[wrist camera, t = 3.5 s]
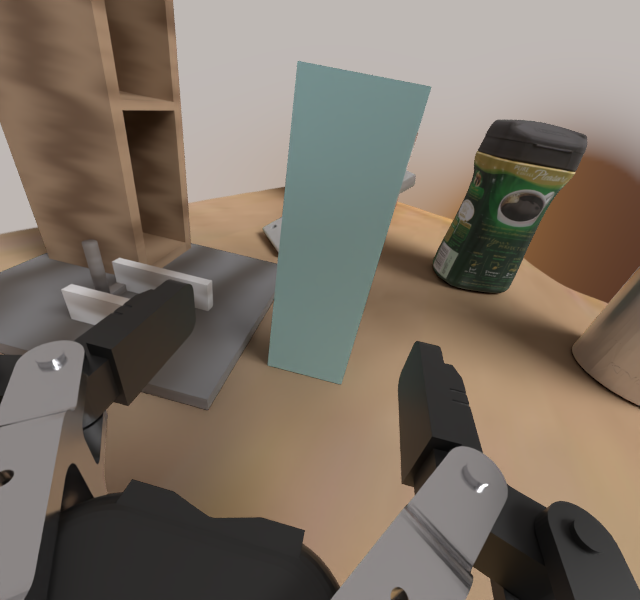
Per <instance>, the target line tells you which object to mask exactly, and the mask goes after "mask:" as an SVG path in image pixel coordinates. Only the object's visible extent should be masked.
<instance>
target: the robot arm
mask: <svg viewBox="0 0 640 600" xmlns="http://www.w3.org/2000/svg"><path fill="white" fill-rule="evenodd" d="M195 322H196V315H195V302H194V290H193V287H192V285H191V284H188V283H184V282H180V281H176V280H172V279H168V280H166V281H165V282H163V283H162V284H161V285H159V286H158V287H157V288H156V289H154V290H153V289H150V290H147V291H145V292H142V293H140V294H137V295H135V296H134V297H132V298H131V299H130V300H128V301H127V302H125V303H124V305H123V306H120V307H119V308H117V309H116V310H115V311H114V313H111V314H109V315H108V316H107V317H105V318H104V319H102V320H101V321H100V322H98V323H97V324H96V325H94V326H93V327H92V328H90V329H89V330H88V331H86V332H85V333H84V334H82V335H81V336H79V337H78V338H77V339H75V340H74V341H67V340H63V341H54V342H49V343H45V344H42V345H40V346H37V347H35V348H33V349H31V350H29V351H28V352H26V353H25V354H24V355H0V600H465V599H466V597H467V595H468V593H469V591H470V588H471V586H472V583H473V575H472V574H471V569H472V567H474V568H476V569H477V570H479V571H480V572H482V573H483V574H484V575H486V576H487V577H489V578H490V580H491V586H492V592H493V597H494V600H640V590H639V588H638V586H637V584H636V582H635V580H634V578H633V576H632V574H631V571H630V569H629V567H628V565H627V563H626V561H625V559H624V557H623V555H622V553H621V551H620V549H619V547H618V545H617V543H616V542H615V540H614V539H613V537H612V536H611V535H610V533H609V532H608V531H607V530H606V529H605V527H604V526H603V525H602V524H601V523H600V522H599V521H598V520H597V519H595V518H594V517H593V516H592V515H591V514H589V513H588V512H587V511H585V510H584V509H582V508H580V507H578V506H576V505H574V504H572V503H569V502H565V501H558V502H555V503H553V504H551V505H550V506H549V507H547V508H546V507H544V506H543V505H541V504H539V503H537V502H536V501H534V500H532V499H531V498H529V497H527V496H525V495H524V494H522V493H520V492H518V491H517V490H515V489H513V488H512V487H510V486H509V485H508V484H506V481H505V478H504V476H503V474H502V473H501V471H500V470H499V468H498V467H497V466H496V465H495V463H494V462H493V461H492V460H491V459H489V458H488V457H487V456H486V455H484V454H483V451H482V448H481V444H480V441H479V437H478V434H477V430H476V427H475V423H474V419H473V416H472V412H471V409H470V407H469V401H468V398H467V395H466V391H465V387H464V384H463V380H462V378H461V376H460V375H459V374H458V372H457V371H456V369H455V368H454V367H453V365H449V364H445V363H444V361H443V356H442V352H441V348H440V347H439V346H436V345H432V344H428V343H424V342H420V341H416V342H415V343H414V345H413V347H412V349H411V352H410V354H409V356H408V358H407V361H406V363H405V365H404V367H403V369H402V372H401V375H400V378H399V384H398V401H399V426H400V451H401V476H402V484H405V485H408V486H412V487H414V492H415V496H414V497H413V499H412V500H411V501H410V502H409V503H408V505H406V506H405V507H404V509H403V510H402V511H401V512H400V514H399V515H398V516H397V517H396V519H395V520H394V521H393V522H392V524H391V525H390V526H389V527H388V529H387V530H386V531H385V532H384V534H383V535H382V536H381V537H380V539H379V540H378V541H377V542H376V544H375V545H374V546H373V547H372V549H371V550H370V551H369V552H368V554H367V555H366V556H365V557H364V559H363V560H362V561H361V562H360V564H359V565H358V566H357V567H356V569H355V570H354V571H353V572H352V574H351V575H350V576H349V577H348V579H347V580H346V581H345V582H344V584H343V585H342V586H341V587H340V586H339V584H338V582H337V580H336V579H335V577H334V576H333V574H332V573H331V571H330V570H329V568H328V567H327V566H326V565H325V563H324V562H323V561H322V560H321V559H320V557H318V556H317V555H316V554H315V553H314V552H313V551H312V550H311V549H309V548H308V547H307V546H305V545H304V544H302V542H303V537H304V532H305V530H302V529H299V528H295V527H292V526H288V525H285V524H282V523H278V522H275V521H272V520H268V519H265V518H261V517H256V518H212V517H209V516H207V515H206V514H204V513H203V512H201V511H200V510H199V509H197V508H196V507H194V506H193V505H192V504H190V503H189V502H187V501H186V500H185V499H183V498H182V497H180V496H179V495H178V494H176V493H175V492H173V491H170V490H167V489H163V488H160V487H157V486H153V485H150V484H147V483H143V482H140V481H136V480H133V479H132V480H131V482H130V483H129V485H128V486H127V487H126V489H125V490H124V492H120V493H113V494H107V488H106V482H105V475H104V466H105V450H106V433H107V417H108V415H107V411H106V409H107V408H108V407H109V406H110V405H111V404H112V403H113V402H116V403H119V404H123V405H127V406H129V405H130V403H131V402H132V401H133V400H134V399H135V398H136V397H137V395H138V394H139V393H140V392H141V391H142V390H143V389H144V387H145V386H146V385H147V384H148V383H149V382H150V381H151V379H152V378H153V377H154V376H155V375H156V374H157V373H158V371H159V370H160V369H161V368H162V367H163V366H164V364H165V363H166V362H167V361H168V360H169V359H170V358H171V356H172V355H173V354H174V353H175V352H176V351H177V350H178V348H179V347H180V346H181V345H182V344H183V343H184V342H185V340H186V339H187V338H188V337H189V336H190V335H191V333H192V331H193V329H194V326H195ZM572 353H573V355H574V357H575V359H576V360H577V362H578V363H579V364H580V365H581V367H582V368H583V369H584V370H585V371H586V372H587V373H589V374H590V375H591V376H592V377H593V378H595V379H596V380H597V381H598V382H600V383H601V384H602V385H604V386H605V387H607V388H608V389H610V390H611V391H613V392H615V393H616V394H618V395H620V396H621V397H623V398H625V399H627V400H629V401H631V402H633V403H635V404H637V405H639V406H640V267H639V268H638V269H637V270H636V271H635V273H634V274H633V275H632V276H631V277H630V279H629V280H628V281H627V282H626V283H625V284H624V286H623V287H622V288H621V289H620V290H619V292H618V293H617V294H616V295H615V296H614V298H613V299H612V300H611V301H610V302H609V303H608V305H607V306H606V307H605V308H604V309H603V311H602V312H601V313H600V314H599V315H598V316H597V317H596V319H595V320H594V321H593V322H592V323H591V325H590V326H589V327H588V328H587V329H586V330H585V332H584V333H583V334H582V335H581V336H580V338H579V339H578V340H577V341H576V342H575V344H574V345H573V347H572Z"/></svg>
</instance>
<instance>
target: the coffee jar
mask: <svg viewBox="0 0 640 600" xmlns="http://www.w3.org/2000/svg"><path fill="white" fill-rule="evenodd" d="M586 147H587V136H586V135H584V134H581V133H578V132H575V131H572V130H569V129H565V128H562V127H558V126H554V125H550V124H546V123H541V122H535V121H525V120H496V121H495V122H494V123H493V124H492V125H491V126H490V128H489V130H488V131H487V134H486V136H485V138H484V140H483V142H482V143H481V145H480V148H479V149H478V151H477V153H476V156H475V160H474V174H473V178H472V181H471V184H470V186H469V189H468V191H467V194H466V196H465V198H464V200H463V202H462V204H461V206H460V208H459V211H458V212H457V214H456V216H455V218H454V220H453V222H452V224H451V226H450V228H449V230H448V231H447V233H446V235H445V237H444V239H443V241H442V243H441V245H440V246H439V248H438V251H437V253H436V255H435V257H434V259H433V268H434V271H435V273H436V274H437V275H438V276H439V277H440V278H442V279H443V280H445V281H446V282H447V283H449V284H450V285H452V286H455V287H459V288H463V289H469V290H475V291H482V292H490V293H502V292H505V291H506V290H507V289H508V288H509V287H510V285H511V283H512V281H513V279H514V277H515V275H516V273H517V271H518V269H519V266H520V264H521V262H522V260H523V257H524V255H525V253H526V250H527V248H528V246H529V244H530V242H531V240H532V238H533V235H534V234H535V231H536V229H537V227H538V225H539V223H540V221H541V219H542V217H543V215H544V214H545V212H546V210H547V208H548V207H549V205H550V203H551V201H552V200H553V199H554V197H555V196H556V195H557V193H558V192H559V191H560V190H561V189H562V188H563V187H564V186H565V185H566V184H567V183H568V181H570V179H571V178H572V177H573V175H574V174H575V171H576V170H577V167H578V165H579V163H580V161H581V158H582V156H583V154H584V152H585V150H586Z"/></svg>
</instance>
